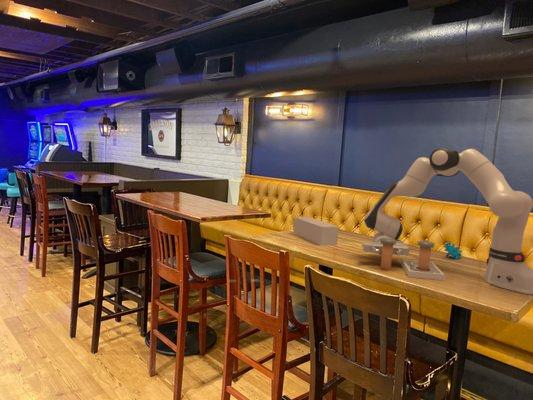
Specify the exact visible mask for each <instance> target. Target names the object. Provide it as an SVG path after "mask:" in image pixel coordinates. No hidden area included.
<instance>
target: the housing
mask: <svg viewBox="0 0 533 400" xmlns="http://www.w3.org/2000/svg"><path fill="white" fill-rule="evenodd" d="M418 263H419V260H414V259H404V258H403V259H402V258H401V259H400V266H401V268H402V269H403V271H404V272H405V274H406V276H407V277H408V278H413V279H424V280H433V281H445V273H444V272H443V271H441V269H440V268H439V267H438V266H437V265H436V264H435V263H434V262H433V261H430V264H429V271H423V270H419V269H418Z"/></svg>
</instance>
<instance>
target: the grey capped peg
mask: <svg viewBox="0 0 533 400" xmlns="http://www.w3.org/2000/svg"><path fill="white" fill-rule="evenodd" d="M417 246H419V253H418V254H419V255H418V261H419V263H418V269H419V270H423V271H429V264H430V262H431V252H432V248H435V242H433V241H428V240H418V241H417Z"/></svg>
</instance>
